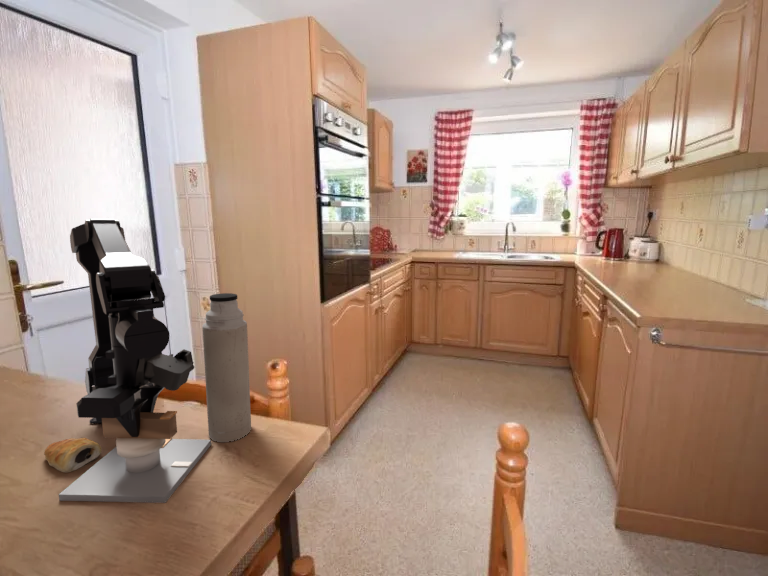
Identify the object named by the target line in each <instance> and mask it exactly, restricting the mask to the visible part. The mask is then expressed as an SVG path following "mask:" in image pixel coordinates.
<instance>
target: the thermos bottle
mask: <svg viewBox="0 0 768 576" xmlns="http://www.w3.org/2000/svg"><path fill="white" fill-rule="evenodd" d="M209 300H210V303H209V306H210V310H208V311H207V312H205V318H204V320H205V321H206V322H204V323H203V324H202V328H201V329H202V342H203V346H202V347H203V357H204V358H203V360H204V361H203V362H204V378H205V380H204V381H205V392H206V411H207V426H208V427H207V428H208V430H207V431H208V438H209V439H210V438H211V439H212V440H211V439H210V440H211V441H214V442H216V441H217V442H218V443H230V442H229V441H231V442H234V440H235V441H238V440H241V439H243V438H245V437H246V436H247V434H248V433H249V432H250V433H251V431H252V415H251V413H252V412H251V393H250V392H251V391H250V390H251V389H250V387H251V386H250V368H249V367H250V366H249V364H250V363H249V339H248V337H249V335H248V322H247V321H246V320H244V316H245V315H244V312H243V310H242V309H240V308H239V307H238V306H239V305H238V301H237V300H238V294H236V293H229V292H228V293H227V292H223V293H215V294H214V293H213V294H211V295H210V296H209ZM250 430H251V431H250ZM250 433H249V434H250ZM245 435H246V436H245ZM244 436H245V437H244ZM242 437H243V438H242ZM240 438H241V439H240ZM237 439H238V440H237Z"/></svg>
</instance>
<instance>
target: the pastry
mask: <svg viewBox="0 0 768 576" xmlns="http://www.w3.org/2000/svg"><path fill="white" fill-rule="evenodd" d="M43 452H44V453H43V455H44V457H45V460H46V461H47V462H48V464H49V466H50V467H53V468H54V469H56V470H57V471H59V472H61V473H71V472H73V471H76V470H79V469H80V468H82V467H84V466H85V465H87V464H88V463H90V462H92V461H94V460H96V459H97V458H98V457H99V456H100V454H101V453H102V446H101V445H100V444H99V443H98V442H95V441H94V440H93V439H88V438H87V437H80V438H74V437H71V438H69V439H68V438H65V439H63V440H60V441H55V442H53V443H51V444H49V445H48V446H47V447H46V448H45V450H44V451H43Z"/></svg>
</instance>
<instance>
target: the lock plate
mask: <svg viewBox="0 0 768 576" xmlns="http://www.w3.org/2000/svg"><path fill="white" fill-rule="evenodd" d="M165 440H166V442H165V444H164V445H163V447H161V448H160V449H159V450H157V451H155V452H153V453H151V454H148V455H145V456H142V457H136V458H124V457H121V456H119V455H118V454H117V447H116V446H114V448H113V449H111V450H110V451H109V452H108V453H107V454H106V455H104V456H103V457H102V458H101V459H99V460H98V461H97V462H95V464H93V465H92V466H91V467H90V468H88V469H87V470H86V471H85V472H84V473H83V474H81V475H80V476H79V477H78V478H77V479H75V480H74V481H73V482H72V483H70V484H69V485H68V486H67V487H66V488H65V489H63V490H62V491H60V492H59V493H58V499H59V500H58V501H65V502H66V501H68V502H106V503H107V502H112V503H113V502H117V503H155V504H156V503H163V504H165V503H167V502H168V500H169V499H170V498H171V497H172V495H173V494H174V493H175V491H176V490H178V487H179V486H181V484H182V483H183V481H184V480H185V478H186V477H187V476H188V475H189V474H190V472H191V471H192V470H193V469H194V467H196V465H197V463H198V462H199V461H200V460H201V458H202V457H203V456H204V454H205V453H206V452H207V451H208V449H210V447H211V446H212V440H211V439H201V438H200V439H197V438H195V439H192V438H173V437H172V438H171V439H165Z"/></svg>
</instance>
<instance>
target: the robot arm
mask: <svg viewBox="0 0 768 576" xmlns="http://www.w3.org/2000/svg"><path fill="white" fill-rule="evenodd" d="M69 242H70V250H71V253H72V254H75V258H76V262H77V263H78V264H79V265H80V266H81V267H82V269H83V270H84V271H85V273H87V277H88V286H89V294H90V296H89V297H90V303H91V312H92V320H93V329H94V337H95V346H94V348H93V349H92V351H91V353H90V354H89V357H88V368H85V373H84V374H85V376H84V382H85V390H86V391H85V392H87V394H86V395H84V396H82V397H81V398H80V399H79V400H78V401H77V403H76V413H77V417H78V418H79V419H80V418H82V419H83V418H84V419H85V418H89V423H90V424H102V418H116V419H117V420H118V421H119V422H120V423H121V425H122V426H123V427H124V428H125V430H126V431H127V432H128V433H129V435H130V436H131V437H138V436H139V432H140V412H154V410H155V406H156V404H157V399H158V397H159V395H160V393H161V392H162V391H163V390H164V389H166V390H168V391H171V392H172V391H177V390H178V389H180V387H182V386H183V385H184V384H186V383H187V382H188V379H189V375H190V373H191V372H192V371H193V370H194V369H195V365H194V359H193V354H192V351H190V350H187V349H181V350H180V351H179V352H177V353H176V354H175V355H174V353H170V354H169V355H167V354H163V351H164V350H165V349H166V348H167V346H168V344H169V342H170V331H169V330H168V327H167V326H166V325H165V323H164V322H162V321H161V320H159V319H158V318H156V317H155V313H154V309H155V310H156V309H162V308H164V307H165V304H164V303H165V299H166V295H165V291H164V288H163V286H162V283H161V279H160V278H159V277H160V276H158V275H157V273H156V270H155V269H152V268H151V266H150V265H149V263H148V262H147V260H146V259H144V257H141V256H137V255H134V254H133V253H132V251H131V249H130V247H129V245H128V243H127V241H126V234H125V229H124V228H123V227H122V226H121V223H120V220H119V219H115V218H96V217H94V218H93V217H92V218H89V219H85V220H84V223H83V224H80V225H77V226H75V227H73V228H71V230H70V234H69ZM90 418H91V419H90Z"/></svg>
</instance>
